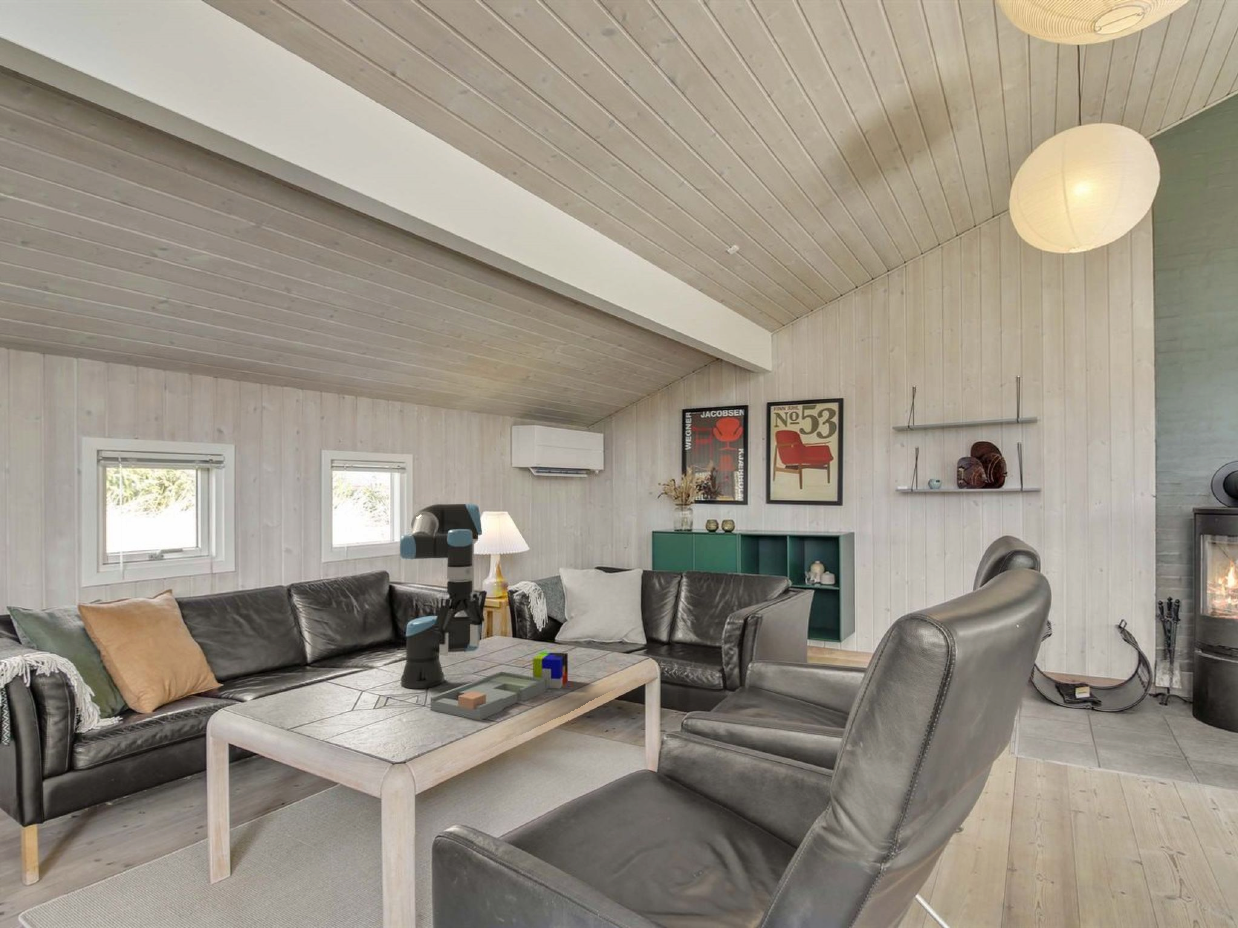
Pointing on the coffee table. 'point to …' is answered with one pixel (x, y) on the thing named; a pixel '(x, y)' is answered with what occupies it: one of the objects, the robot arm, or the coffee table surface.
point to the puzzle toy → (551, 668)
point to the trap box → (490, 694)
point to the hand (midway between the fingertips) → (459, 650)
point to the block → (471, 700)
